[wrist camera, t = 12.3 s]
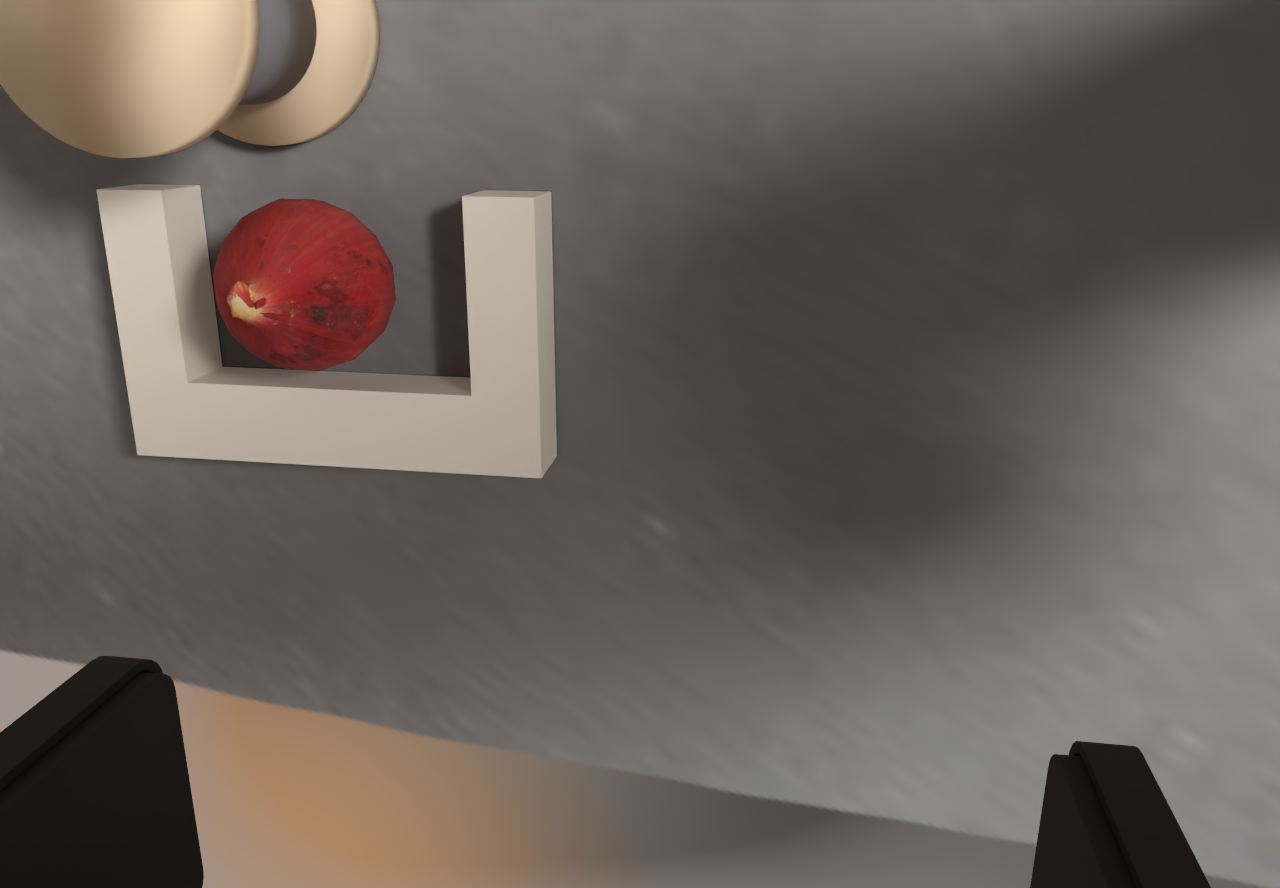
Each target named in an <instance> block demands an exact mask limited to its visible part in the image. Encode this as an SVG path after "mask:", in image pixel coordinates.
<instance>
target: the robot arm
mask: <svg viewBox="0 0 1280 888" xmlns="http://www.w3.org/2000/svg"><path fill="white" fill-rule="evenodd" d="M202 885H203V866H202V859H201V853H200V847H199V840H198V833H197V827H196V821H195V814H194V808H193V801H192V795H191V788H190V782H189V775H188V768H187V762H186V756H185V749H184V743H183V736H182V730H181V723H180V717H179V710H178V704H177V697H176V691H175V686H174V683H173V680H172V679H171V678H170V676H168V675H166V674H163V673H162V669H161V668H160V666H159V665H158V664H157V663H156V662H154V661H152V660H148V659H137V658H125V657H114V656H100V657H98V658H96V659H94V660H92V661H91V662H90V663H88V664H87V665H86V666H85V667H83V668H82V669H81V670H80V671H78V672H77V673H76V674H74V675H73V676H72V677H71V678H69V679H68V680H67V681H65V682H64V683H63V684H62V685H61V686H59V687H58V688H57V689H55V690H54V691H53V692H51V693H50V694H49V695H48V696H46V697H45V698H44V699H43V700H41V701H40V702H39V703H38V704H36V705H35V706H34V707H32V708H31V709H30V710H29V711H27V712H26V713H25V714H24V715H22V716H21V717H20V718H18V719H17V720H16V721H14V722H13V723H12V724H11V725H9V726H8V727H7V728H6V729H4V730H3V731H2V732H0V888H202ZM1030 888H1211V887H1210V885H1209V883H1208V881H1207V879H1206V877H1205V875H1204V873H1203V871H1202V869H1201V868H1200V866H1199V864H1198V862H1197V860H1196V858H1195V856H1194V854H1193V852H1192V850H1191V848H1190V846H1189V844H1188V842H1187V840H1186V838H1185V836H1184V834H1183V832H1182V830H1181V828H1180V826H1179V824H1178V823H1177V821H1176V819H1175V817H1174V815H1173V813H1172V811H1171V809H1170V807H1169V805H1168V803H1167V801H1166V799H1165V797H1164V795H1163V793H1162V791H1161V789H1160V787H1159V785H1158V783H1157V781H1156V780H1155V778H1154V776H1153V774H1152V772H1151V770H1150V768H1149V766H1148V764H1147V762H1146V760H1145V758H1144V756H1143V754H1142V753H1141V751H1140V750H1139V749H1138V748H1137V747H1134V746H1126V745H1115V744H1104V743H1092V742H1081V741H1076V742H1075V743H1073V745H1072V747H1071V749H1070V752H1069V755H1058V754H1054V755H1053V756H1052V757H1051V759H1050V762H1049V767H1048V773H1047V780H1046V786H1045V793H1044V800H1043V807H1042V813H1041V820H1040V827H1039V833H1038V840H1037V847H1036V854H1035V860H1034V867H1033V873H1032V881H1031V887H1030Z"/></svg>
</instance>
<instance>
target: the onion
mask: <svg viewBox="0 0 1280 888" xmlns="http://www.w3.org/2000/svg"><path fill="white" fill-rule="evenodd" d="M213 280H214V288H215V295H216V302H217V307H218V309H219V311H220V314H221V316H222V318H223V320H224V322H225V324H226V327H227V329H228V331H229V333H230V334H231V335H232V336H233V337H234V338H235V339H236V340H237V341H238V342H239V343H240V344H241V345H242V346H243V347H244V348H245V349H246V350H247V351H248V352H249V353H251V354H252V355H254V356H256V357H258V358H260V359H262V360H264V361H267V362H269V363H271V364H273V365H275V366H277V367H280V368H290V369H299V370H307V371H319V370H322V369H326V368H329V367H332V366H335V365H338V364H341V363H344V362H348V361H351V360H354V359H355V358H356V357H357V356H358V355H359V354H361V353H362V352H363V351H364V350H365V349H366V348H367V347H368V346H369V345H370V344H371V343H372V342H373V341H375V340H376V339H377V338H378V337H379V336H380V335H381V334H382V333H383V332H384V331H385V329H386V326H387V323H388V320H389V317H390V314H391V312H392V309H393V306H394V303H395V300H396V297H395V287H394V277H393V266H392V264H391V262H390V260H389V258H388V257H387V255H386V253H385V251H384V250H383V248H382V246H381V244H380V242H379V241H378V239H377V237H376V236H375V235H374V234H373V233H372V232H371V231H370V230H369V229H368V228H367V227H366V226H365V225H364V224H363V223H362V222H361V221H360V220H358V219H357V218H356V217H355V216H354V215H353V214H352V213H350V212H347V211H345V210H343V209H340V208H338V207H336V206H333V205H331V204H329V203H326V202H324V201H319V200H313V199H279V200H276V201H274V202H271V203H269V204H267V205H265V206H263V207H261V208H259V209H257V210H255V211H253V212H251V213H249V214H247V215H246V216H244V217H242V218H241V219H240V221H239V222H238V223H237V225H236V226H235V227H234V229H233V230H232V231H231V233H230V234H229V235H228V237H227V238H226V239H225V241H224V242H223V244H222V246H221V248H220V251H219V255H218V259H217V263H216V266H215V270H214V274H213Z"/></svg>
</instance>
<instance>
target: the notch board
mask: <svg viewBox="0 0 1280 888" xmlns="http://www.w3.org/2000/svg"><path fill="white" fill-rule="evenodd" d="M96 191H97V197H98V203H99V210H100V216H101V223H102V229H103V236H104V242H105V249H106V255H107V262H108V268H109V274H110V281H111V287H112V294H113V300H114V307H115V313H116V320H117V326H118V333H119V339H120V345H121V352H122V358H123V365H124V371H125V378H126V384H127V391H128V397H129V404H130V410H131V417H132V423H133V429H134V436H135V442H136V449H137V455H145V456H162V457H180V458H197V459H214V460H231V461H249V462H266V463H283V464H301V465H318V466H335V467H352V468H370V469H387V470H404V471H422V472H439V473H456V474H473V475H491V476H508V477H525V478H542V477H543V476H544V474H545V473H546V471H547V470H548V468H549V467H550V466H551V464H552V463H553V461H554V460H555V459H556V457H557V435H556V388H555V342H554V295H553V248H552V202H551V191H500V190H482V191H479V192H475V193H472V194H468V195H465V196H462V208H463V229H464V250H465V271H466V292H467V313H468V334H469V355H470V376H471V378H468V377H446V376H423V375H401V374H378V373H355V372H333V371H307V370H287V369H265V368H242V367H222V359H221V351H220V343H219V335H218V327H217V319H216V311H215V302H214V294H213V286H212V278H211V270H210V262H209V254H208V246H207V238H206V230H205V222H204V214H203V206H202V198H201V190H200V185H164V184H135V185H127V186H119V187H111V188H103V189H96Z"/></svg>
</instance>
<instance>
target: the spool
mask: <svg viewBox="0 0 1280 888" xmlns="http://www.w3.org/2000/svg"><path fill="white" fill-rule="evenodd" d="M379 46H380V25H379V17H378V10H377V6H376V2H375V0H0V84H1V86H2V87H3V89H4V90H5V91H6V93H7V94H8V95H9V97H10V98H11V99H12V100H13V101H14V102H15V104H16V105H17V106H18V107H19V108H20V109H21V110H22V111H23V112H24V113H25V114H26V115H27V116H28V117H29V118H30V119H32V120H33V121H34V122H35V123H36V124H37V125H38V126H40V127H41V128H42V129H44V130H45V131H47V132H48V133H50V134H51V135H53V136H54V137H55V138H57V139H59V140H61V141H63V142H65V143H67V144H69V145H71V146H72V147H75V148H78V149H80V150H83V151H86V152H88V153H92V154H97V155H101V156H105V157H115V158H137V157H150V156H161V155H166V154H171V153H175V152H179V151H181V150H184V149H187V148H189V147H192V146H194V145H196V144H197V143H199V142H201V141H202V140H204V139H206V138H207V137H209V136H210V135H211V134H212V133H214V132H215V131H216V130H218V131H220V132H222V133H224V134H226V135H228V136H229V137H232V138H235V139H237V140H240V141H243V142H247V143H252V144H256V145H267V146H274V145H289V144H298V143H303V142H308V141H311V140H314V139H317V138H319V137H322V136H324V135H326V134H327V133H329V132H331V131H333V130H334V129H336V128H337V127H338V126H340V125H341V124H342V123H343V122H345V121H346V120H347V119H348V118H349V117H350V115H351V114H352V113H353V112H354V111H355V110H356V108H357V107H358V106H359V104H360V103H361V102H362V100H363V98H364V96H365V95H366V93H367V91H368V89H369V87H370V84H371V82H372V79H373V76H374V74H375V69H376V65H377V61H378V55H379Z"/></svg>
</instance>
